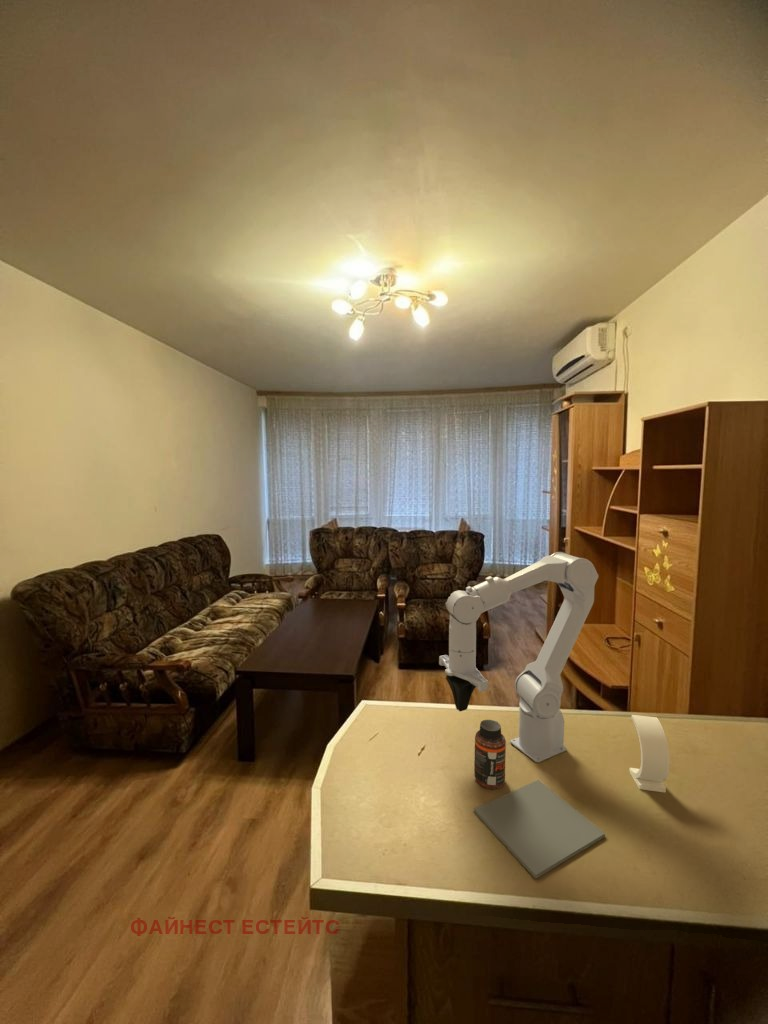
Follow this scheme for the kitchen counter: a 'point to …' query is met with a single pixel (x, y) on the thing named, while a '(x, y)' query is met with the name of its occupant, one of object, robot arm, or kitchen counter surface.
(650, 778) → the headphone stand
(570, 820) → the mat
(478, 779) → the supplement bottle
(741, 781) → the kitchen counter surface
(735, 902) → the kitchen counter surface
